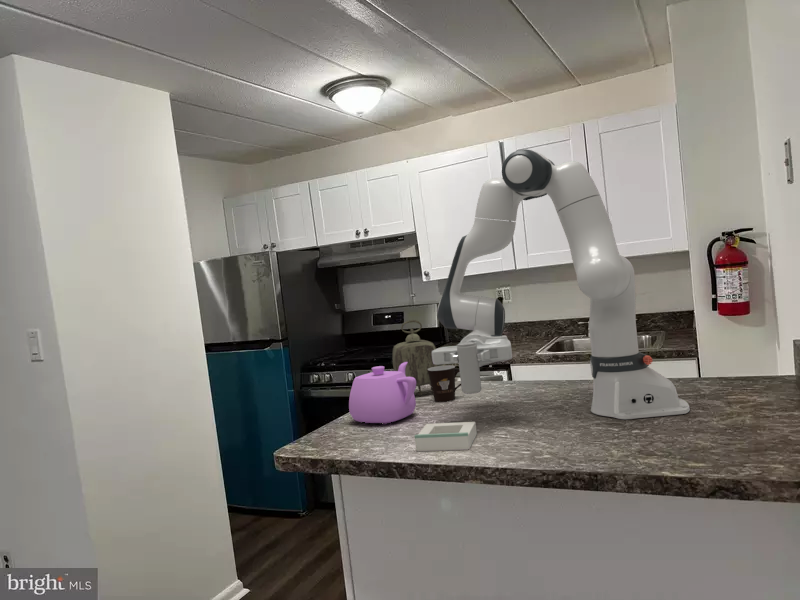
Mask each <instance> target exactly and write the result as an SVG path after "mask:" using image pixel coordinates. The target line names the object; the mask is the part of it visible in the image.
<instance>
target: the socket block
mask: <svg viewBox="0 0 800 600" xmlns="http://www.w3.org/2000/svg"><path fill="white" fill-rule="evenodd" d="M477 434H478V433H477V424H476V421H462V422H440V423H426V424H425V425H424V426H423V427H422V428H421V430H420V431H419V432H418V434H415V435H414V443H415V451H416V452H437V451H438V452H439V451H442V452H443V451H469V450H470V449H471V447H472V445H473V442H474V441H475V438H476V436H477ZM468 449H469V450H468Z"/></svg>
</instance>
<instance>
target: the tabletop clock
mask: <svg viewBox="0 0 800 600" xmlns="http://www.w3.org/2000/svg"><path fill="white" fill-rule="evenodd" d="M409 323H417V324H418V325H420V327H419V328H418V329H415V330H414V328H410V330H408V331H407V330H404V326H405V325H406V324H409ZM422 327H423V325H422V323H421V322H420V321H418V320H416V319H415V320H414V319H412V320H407V321H404V322H403V323H401V327H400V328H401V330H402V332H404V333H405V334H408V335H407V336H406V338H405V341H403V342H399V343H397V344H395V345H393V348H392V355H391V356H392V366H393V371H398V369H399V366H400V365H401V364H402V363H404V362H408V363H407V365H406V368H405V375H406V377H414V378H415V379H416V387H418V392H417V395H418V396H419V397H422V396H423V391H422V390H421V387H422V386H426V385H429V386H430V390H431V391H432V387H431V383H430V378H429V374H428V370H427V369H429V368H432V367H437V366H440V364H438V365H436V364H433V361H432V351H433V350H435V349H437V347H436V346H435V344H434V343H433V342H432V341H429V340H425V339H422V338H421V337H420V335H418V334H417V333H418V332H419V331H421V329H422Z"/></svg>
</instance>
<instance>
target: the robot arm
mask: <svg viewBox="0 0 800 600" xmlns="http://www.w3.org/2000/svg"><path fill="white" fill-rule="evenodd" d="M501 166H502V167H501V177H494V178H493V177H492V178H490V179H488V180H486V181H484V183H483V184H482V186H481V190H480V192H479V194H478V196H479V197H478V198H477V203H476V207H475V208H476V209H475V215H474V221H473V224H472V227H471V229H470V230H469V232H468V234H466V235H464V236H462V237H461V239H460V240H459V242H458V244H457V248H456V250H455V252H454V253H455V254H454V255H453V258H452V259H453V260H452V263H451V265H450V269H449V273H448V276H447V280H446V283H445V287H444V290H443V293H442V295H441V298H440V300H439V303H438V306H437V310H436V311H437V312H436V314H437V315H436V316H437V319H438V321H439V322H440V324H441V325H443V327H444V328H445V329H453V330H454V329H455V330H458V329H461V330H466V331H467V330H469V331H471V332H469V333H468V334H467V335H465V336H464V337H463V338H462V339H461V340H460V342H459V343H465V342H476V345H477V352H478V354H477V357H478V358H477V360H478V361H479V368H480V367H483V366H486V365H487V366H488V365H489V364H493V363H498V362H504V361H509V360H512V359H513V351H512V350H513V349H512V344H511V340H510V339H508V336H507V335H503V332H504V328H505V322H506V311H505V307H504V305H503V304H502V302H501V300H499V299H498V298H495V297H488V296H479V295H472V294H471V295H470V294H464V293H462V292H461V288H462V285H463V281H464V278H465V274H466V271H467V268H468V265H469V264H470V263H471V261H473V260H475V259H477V258H480V257H483V256H487V255H491V254H494V253H497V252H500V251H503V250H504V249H505V248H507V247H508V246H509V245H510V244H511V242H512V241H513V238H514V234H515V230H516V225H517V217H518V216H517V215H518V209H519V205H520V204H521V202H522V201H529V200H534V199H537V198H542V197H544V196H547V195H548V196H549V198H550V199H551V201H552V203H553V205H554V209H555V211H556V213H557V216H558V219H559V221H560V224H561V226H562V229H563V232H564V235H565V238H566V240H567V243H568V246H569V249H570V250H569V251H570V254H571V260H572V264H573V267H574V272H575V274H576V283H577V286H578V288H579V290H580V291H581V292H582V294H584V296H586V297H587V298H589V299H590V300H589V303H590V304H589V320H588V333H589V341H590V351H591V355H590V356H589V359H590V360H589V364H590V373H591V376H592V378H593V379H592V380H593V389H592V391H593V393H592V401H591V407H590V412H591V413H592V414H594V415H597V416H603V417H611V418H614V419H615V418H616V419H618V420H633V419H642V418H643V419H644V418H654V417H655V418H656V417H663V416H664V417H666V416H676V415H683V414H684V415H685V414H688V413H689V412H690V410H691V409H690V405H689V403H688V402H687V401H686V400H684V399H682V398H679V396H678V391H677V388H676V386H675V384H674V383H673V382H672V381H671V380H670V379H669V378H667V377H666V376H664V375H662V374H661V373H659V372H658V371H656V370H654V369H653V368H651V367H650V365H652V363H653V360H654V359H653V358H652V357H651V355H648V354H645V353H643V352H641V351H639V342H638V341H639V340H638V332H637V323H636V322H637V320H636V319H637V316H636V306H637V304H636V303H637V302H636V277H635V269H634V266H633V264H632V263H631V261H630V260H629V259H627V258H626V257H625V256H623V255H620V252H619V249H618V245H617V240H616V239H615V235H614V230H613V224H612V221H611V219H610V217H609V215H608V212H607V209H606V207H605V204H604V202H603V198H602V197H601V194H600V192H599V190H598V188H597V186H596V185H597V184H596V183H595V181H594V180H593V178H592V176H591V175H590V173H589V171H588V169H586V167H585V166H584V164H582V163H581V162H580V161H577V160H576V161H575V160H573V161H572V160H571V161H566V162H565V161H564V162H563V163H559V164H555V163H554V162H553V161H552V160H550V159H549V158H547V157H546V156H545V155H544V154H542V153H539V152H536V151H533V150H531V149H524V148H523V149H518V150H515V151H513V152H511V153H510V154H509V155H508V156H506V158H505V160H504V161H503V163H502V165H501ZM432 361H433V364H436V365H438V364H439V365H449V364H451V365H452V364H459V361H458V352H457V345H452V346H442V347H438V348H437V347H436V349H435V350H433V351H432Z"/></svg>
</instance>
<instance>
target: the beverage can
mask: <svg viewBox="0 0 800 600" xmlns="http://www.w3.org/2000/svg"><path fill="white" fill-rule="evenodd" d="M456 346H457V352H458V361H459V363H458V367H459V368H458V370H460V372H459V377H460V383H461V386H460V387H461V391H462V393H463V394H465V395H474V394H479V393H481V391H482V380H481V371H480V367H479V361H478V360H477V358H478V357H477V354H478V352H477V345H476V342H465V343H460V342H459V343H458V344H456Z"/></svg>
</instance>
